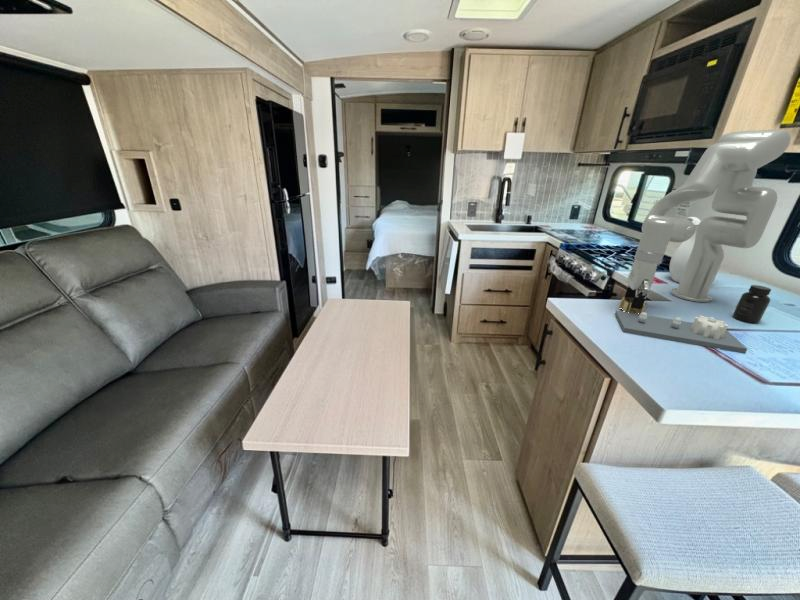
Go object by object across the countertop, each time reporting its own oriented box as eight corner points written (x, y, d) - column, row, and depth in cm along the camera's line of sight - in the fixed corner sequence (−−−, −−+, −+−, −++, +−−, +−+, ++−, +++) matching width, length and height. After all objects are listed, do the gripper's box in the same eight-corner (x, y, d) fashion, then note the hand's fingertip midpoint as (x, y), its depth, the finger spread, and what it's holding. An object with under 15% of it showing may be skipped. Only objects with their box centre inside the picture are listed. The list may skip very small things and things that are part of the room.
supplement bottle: (764, 325, 110) (782, 292, 105) (741, 322, 111) (757, 290, 106) (749, 316, 116) (764, 284, 111) (726, 314, 117) (741, 282, 112)
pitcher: (721, 290, 140) (750, 224, 129) (677, 286, 142) (702, 222, 131) (686, 272, 161) (709, 215, 150) (649, 270, 164) (668, 213, 153)
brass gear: (616, 305, 122) (619, 295, 121) (640, 308, 120) (643, 298, 118) (620, 313, 116) (624, 302, 114) (645, 317, 113) (649, 306, 112)
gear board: (614, 314, 115) (619, 298, 112) (722, 331, 105) (730, 314, 102) (623, 332, 103) (628, 314, 100) (745, 353, 93) (754, 334, 90)
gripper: (629, 249, 118) (615, 293, 125) (642, 261, 104) (625, 310, 110) (654, 252, 116) (638, 296, 123) (670, 264, 101) (652, 314, 108)
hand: (632, 303), depth 116 cm, fingers open, 9 cm apart
